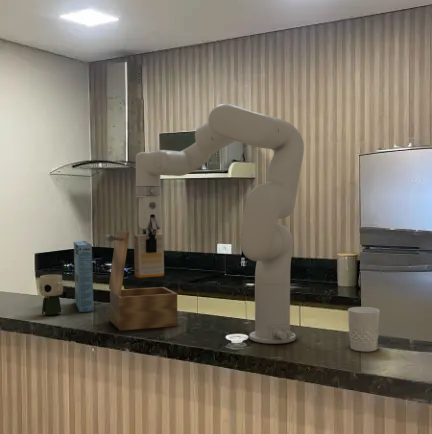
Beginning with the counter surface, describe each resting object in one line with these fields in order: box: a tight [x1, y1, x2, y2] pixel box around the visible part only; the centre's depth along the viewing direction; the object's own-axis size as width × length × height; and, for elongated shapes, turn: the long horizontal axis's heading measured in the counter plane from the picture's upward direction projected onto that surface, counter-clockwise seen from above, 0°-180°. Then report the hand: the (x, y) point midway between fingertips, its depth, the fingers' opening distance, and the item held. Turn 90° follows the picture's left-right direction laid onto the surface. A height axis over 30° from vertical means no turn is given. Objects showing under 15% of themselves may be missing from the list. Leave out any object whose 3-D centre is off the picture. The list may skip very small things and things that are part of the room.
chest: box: [109, 286, 178, 332], centre depth 184 cm, size 18×15×10 cm
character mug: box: [39, 274, 64, 316], centre depth 199 cm, size 11×7×13 cm, turn 56°
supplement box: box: [133, 233, 165, 279], centre depth 184 cm, size 8×5×13 cm, turn 115°
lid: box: [104, 229, 130, 296], centre depth 180 cm, size 19×15×5 cm
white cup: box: [347, 306, 381, 353], centre depth 153 cm, size 8×8×10 cm
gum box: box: [73, 240, 94, 313], centre depth 212 cm, size 19×5×23 cm, turn 17°
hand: (148, 251), depth 184 cm, fingers closed on supplement box, 5 cm apart
